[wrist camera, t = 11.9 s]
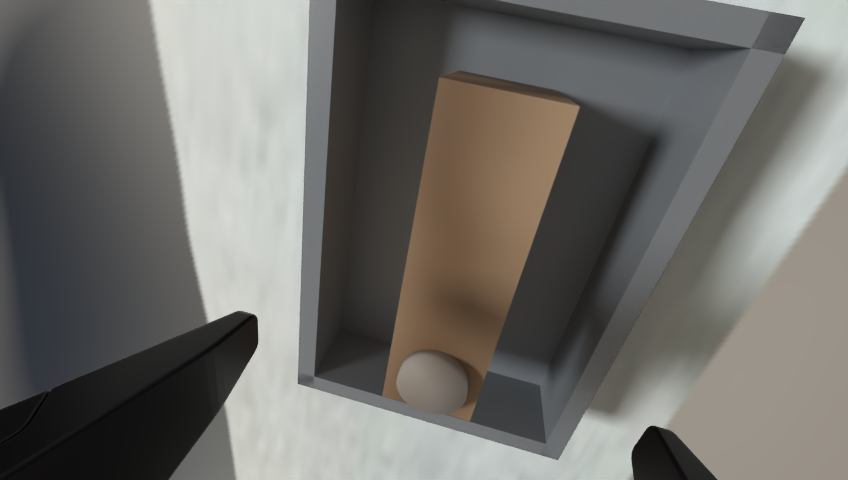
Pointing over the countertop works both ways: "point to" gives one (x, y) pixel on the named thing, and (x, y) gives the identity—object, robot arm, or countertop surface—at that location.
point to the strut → (472, 233)
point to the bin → (569, 197)
